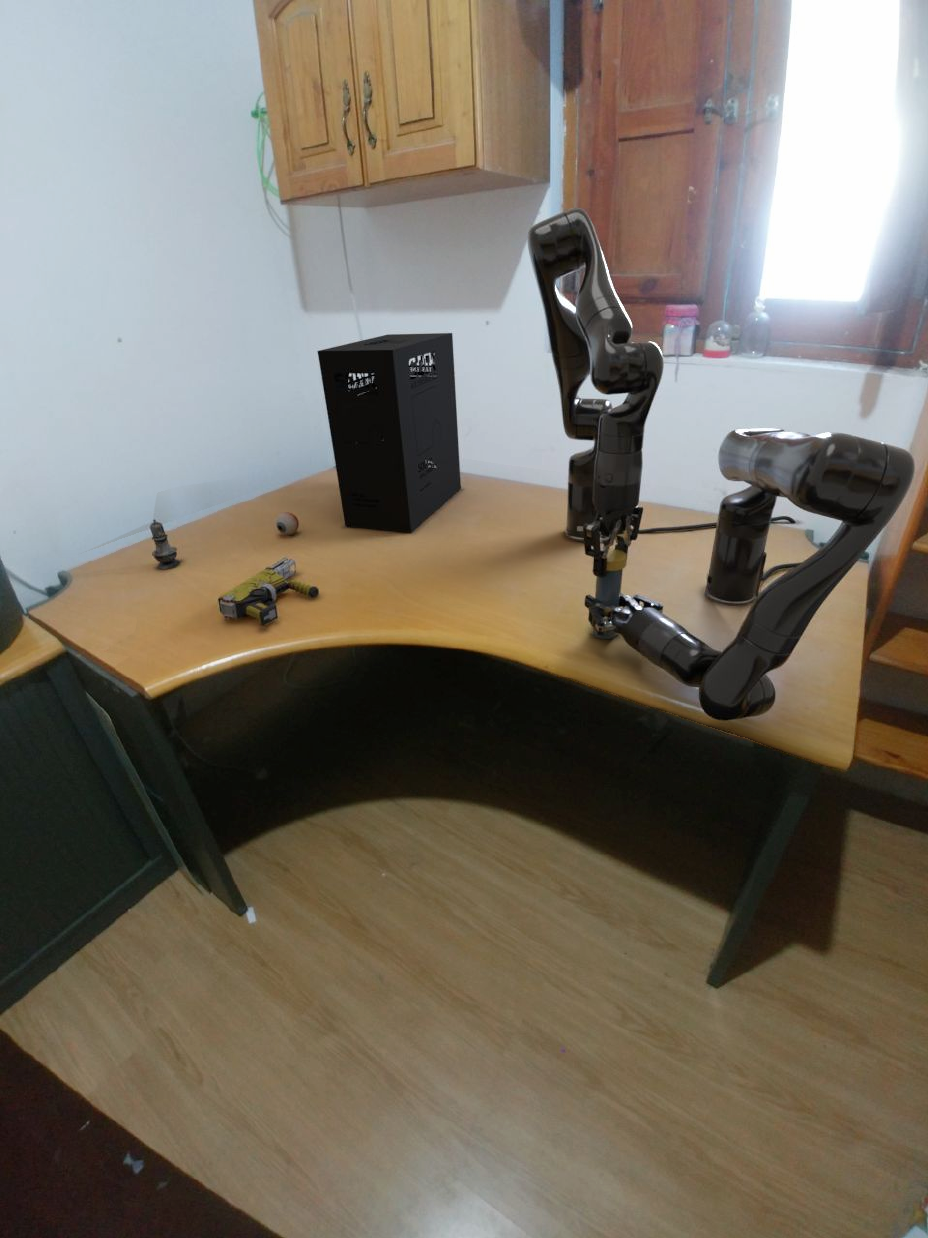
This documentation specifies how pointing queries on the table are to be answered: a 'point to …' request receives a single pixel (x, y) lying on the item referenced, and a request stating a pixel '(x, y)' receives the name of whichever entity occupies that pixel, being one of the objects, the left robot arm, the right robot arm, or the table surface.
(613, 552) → the lid
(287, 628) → the table surface
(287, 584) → the toy gun
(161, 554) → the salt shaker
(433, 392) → the cardboard box
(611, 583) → the blue grey cylinder
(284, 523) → the eyeball
